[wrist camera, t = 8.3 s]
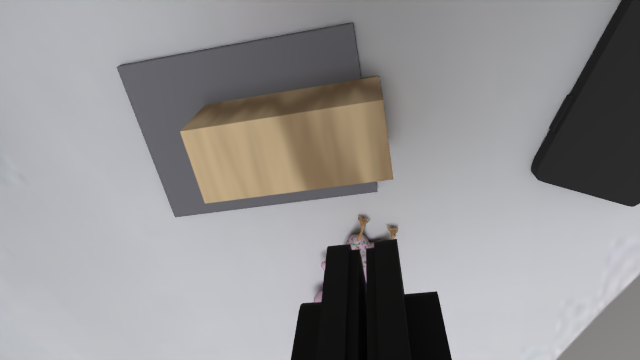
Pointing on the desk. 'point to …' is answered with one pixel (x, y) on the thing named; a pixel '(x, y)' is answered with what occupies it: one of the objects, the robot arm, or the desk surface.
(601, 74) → the smart home device
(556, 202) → the desk surface
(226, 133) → the oak block
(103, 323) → the desk surface
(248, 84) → the charcoal mat
